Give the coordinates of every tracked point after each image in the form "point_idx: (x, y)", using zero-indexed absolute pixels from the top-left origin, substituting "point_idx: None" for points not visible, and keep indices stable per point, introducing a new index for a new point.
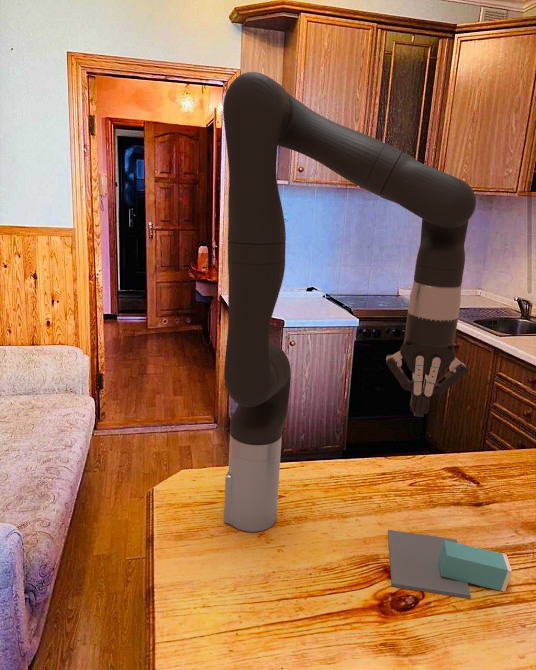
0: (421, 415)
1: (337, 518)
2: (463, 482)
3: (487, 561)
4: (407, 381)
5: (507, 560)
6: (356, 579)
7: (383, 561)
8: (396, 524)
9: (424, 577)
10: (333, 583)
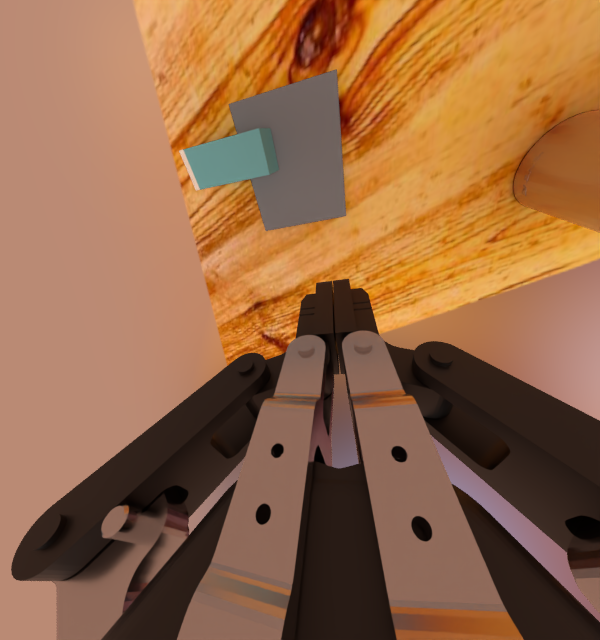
0: (324, 282)
1: (412, 220)
2: (275, 333)
3: (209, 153)
4: (454, 392)
5: (191, 176)
6: (391, 63)
7: (349, 142)
8: (335, 238)
9: (291, 117)
10: (434, 22)
